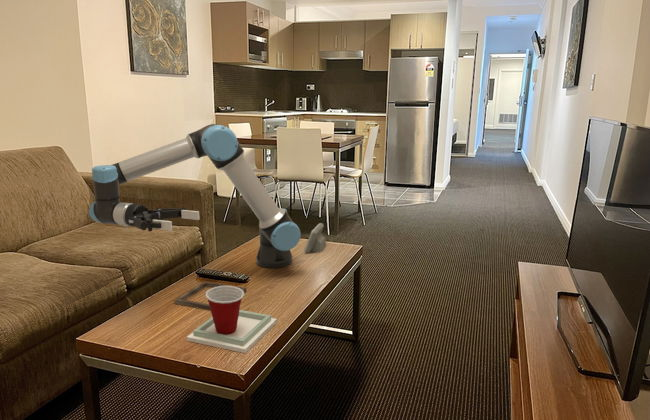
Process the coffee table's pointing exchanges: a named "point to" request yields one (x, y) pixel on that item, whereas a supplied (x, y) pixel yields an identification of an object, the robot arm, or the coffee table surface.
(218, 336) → the base plate
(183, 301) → the holder frame
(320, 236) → the grey irregular lump
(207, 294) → the plastic cup
